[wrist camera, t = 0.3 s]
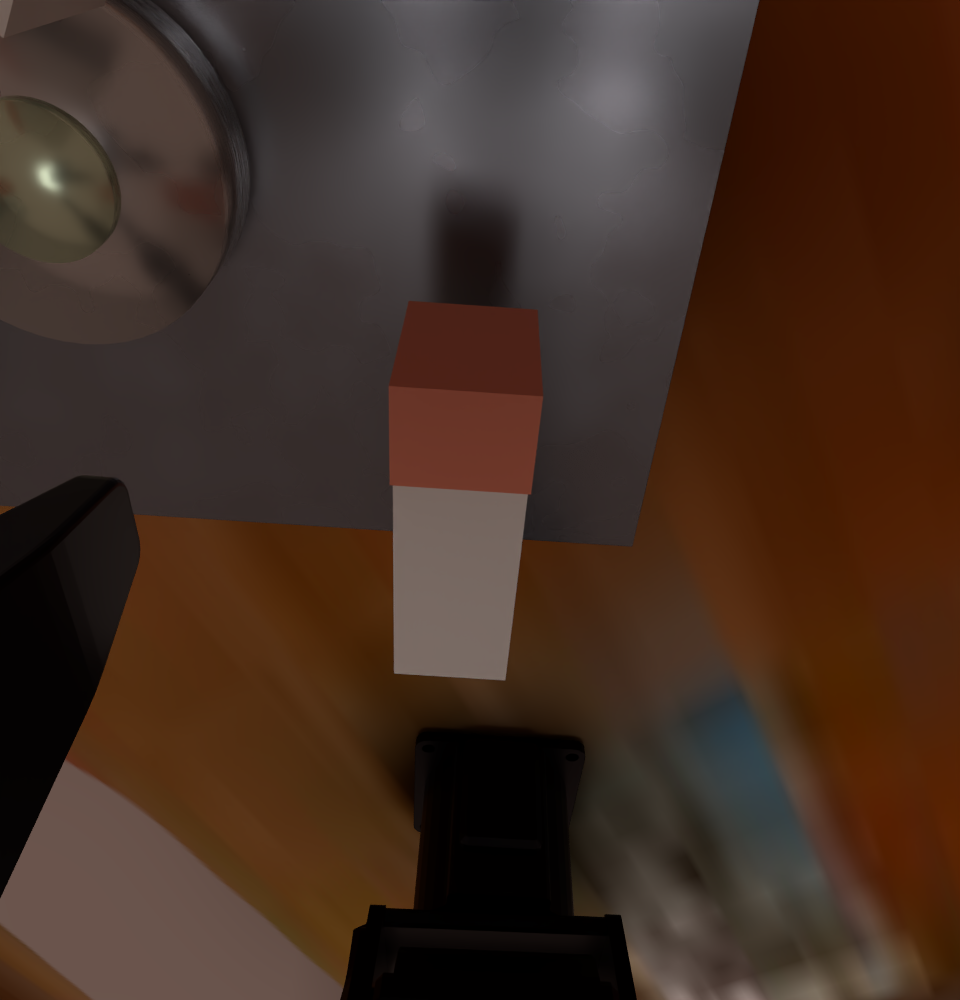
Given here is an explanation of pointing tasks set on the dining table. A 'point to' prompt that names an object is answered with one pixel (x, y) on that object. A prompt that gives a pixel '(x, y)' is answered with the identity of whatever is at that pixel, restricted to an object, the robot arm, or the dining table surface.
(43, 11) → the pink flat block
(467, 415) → the red and white block
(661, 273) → the grey board
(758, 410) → the dining table surface
